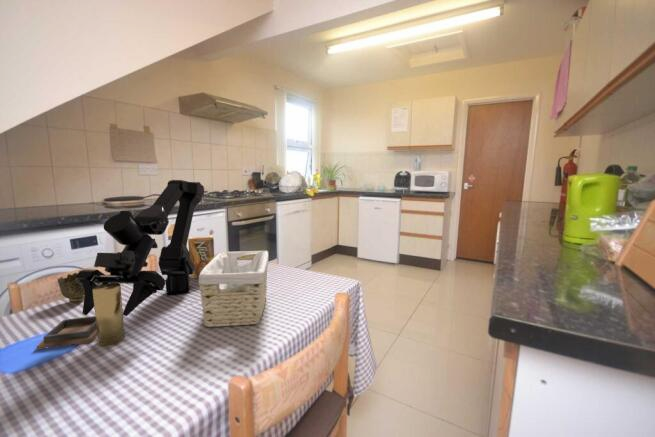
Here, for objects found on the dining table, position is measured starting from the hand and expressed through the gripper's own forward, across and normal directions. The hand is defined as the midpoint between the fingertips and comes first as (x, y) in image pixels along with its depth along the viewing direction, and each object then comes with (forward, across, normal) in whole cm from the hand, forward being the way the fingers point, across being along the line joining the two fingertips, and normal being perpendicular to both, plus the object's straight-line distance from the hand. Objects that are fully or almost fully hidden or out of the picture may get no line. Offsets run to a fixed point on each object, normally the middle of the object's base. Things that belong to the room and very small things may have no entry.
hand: (104, 314), depth 64 cm
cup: (-10, -26, +20) cm, 34 cm away
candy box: (-27, +1, +37) cm, 46 cm away
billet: (+4, 0, +6) cm, 7 cm away
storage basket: (-8, +24, +19) cm, 32 cm away
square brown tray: (+2, -10, +7) cm, 13 cm away
